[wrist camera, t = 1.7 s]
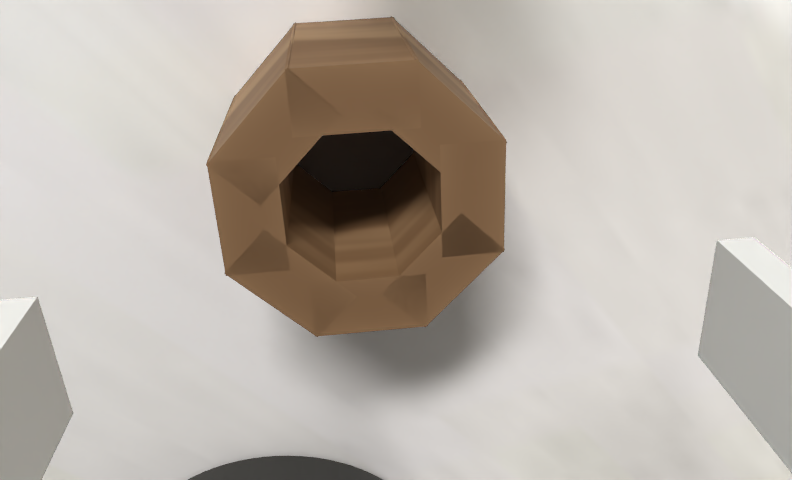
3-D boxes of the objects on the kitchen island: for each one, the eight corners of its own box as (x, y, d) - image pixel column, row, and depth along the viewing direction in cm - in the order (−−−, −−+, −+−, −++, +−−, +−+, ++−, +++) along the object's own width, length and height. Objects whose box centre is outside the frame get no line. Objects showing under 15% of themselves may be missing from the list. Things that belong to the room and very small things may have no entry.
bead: (462, 225, 28) (503, 320, 22) (255, 242, 28) (236, 344, 22) (461, 11, 25) (509, 52, 19) (223, 26, 24) (190, 73, 18)
